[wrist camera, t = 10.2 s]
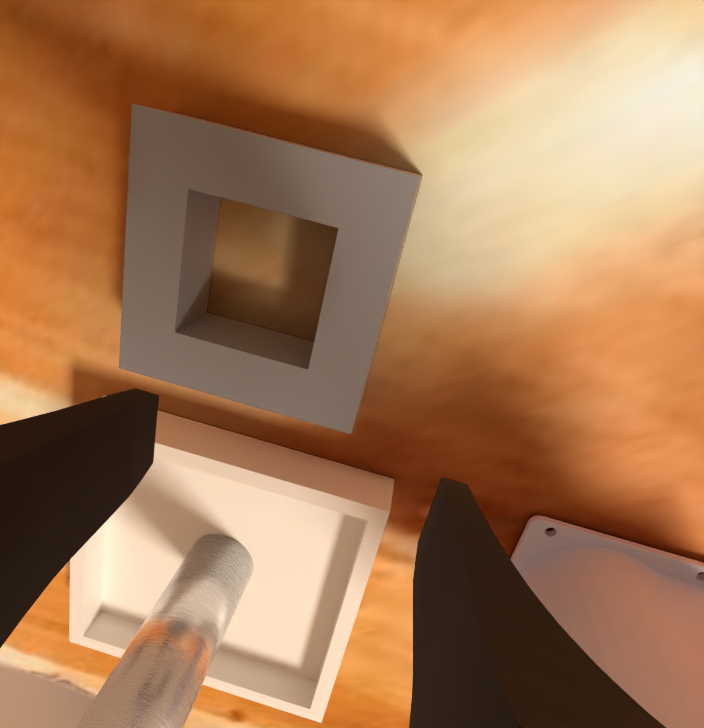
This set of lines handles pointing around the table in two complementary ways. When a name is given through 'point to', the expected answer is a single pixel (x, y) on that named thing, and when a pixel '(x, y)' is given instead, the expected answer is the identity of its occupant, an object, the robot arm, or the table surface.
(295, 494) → the tray
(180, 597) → the pin
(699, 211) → the table surface
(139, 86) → the table surface
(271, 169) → the socket block
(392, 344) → the table surface
